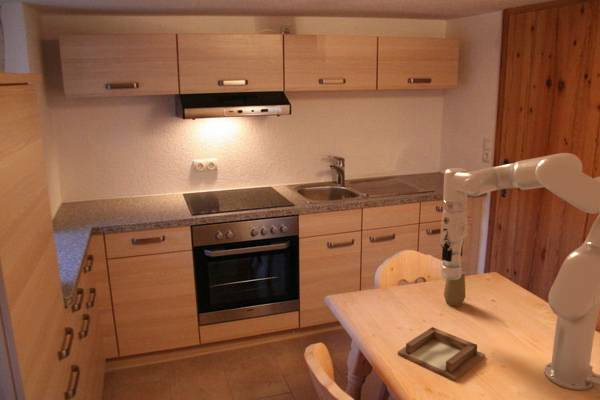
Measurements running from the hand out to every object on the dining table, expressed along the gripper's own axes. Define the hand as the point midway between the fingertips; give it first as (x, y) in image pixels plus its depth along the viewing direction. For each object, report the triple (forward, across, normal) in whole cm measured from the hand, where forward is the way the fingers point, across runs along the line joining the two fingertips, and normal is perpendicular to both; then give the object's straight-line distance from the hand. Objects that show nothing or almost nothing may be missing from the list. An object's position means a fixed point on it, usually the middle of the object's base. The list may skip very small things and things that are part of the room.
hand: (452, 257), depth 165 cm
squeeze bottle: (+26, +19, +9) cm, 34 cm away
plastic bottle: (+8, 0, 0) cm, 8 cm away
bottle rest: (+26, -17, -7) cm, 32 cm away
